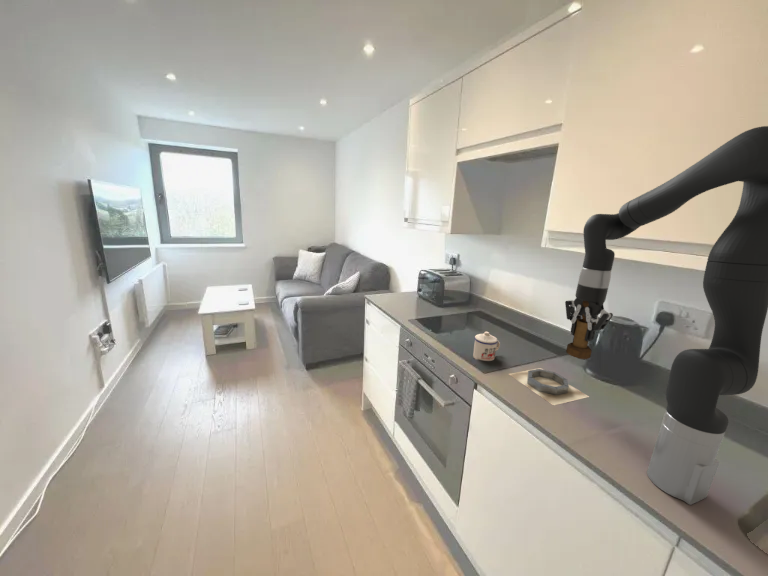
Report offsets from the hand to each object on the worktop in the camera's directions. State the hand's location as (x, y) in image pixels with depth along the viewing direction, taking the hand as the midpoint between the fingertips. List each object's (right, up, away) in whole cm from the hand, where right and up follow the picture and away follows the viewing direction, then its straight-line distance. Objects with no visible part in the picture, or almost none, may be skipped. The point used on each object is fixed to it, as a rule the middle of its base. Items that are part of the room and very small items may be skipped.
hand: (581, 337), depth 94 cm
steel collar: (-3, -19, +14) cm, 24 cm away
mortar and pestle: (0, -6, +1) cm, 6 cm away
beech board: (-3, -20, +14) cm, 25 cm away
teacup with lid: (-18, -14, +35) cm, 41 cm away
